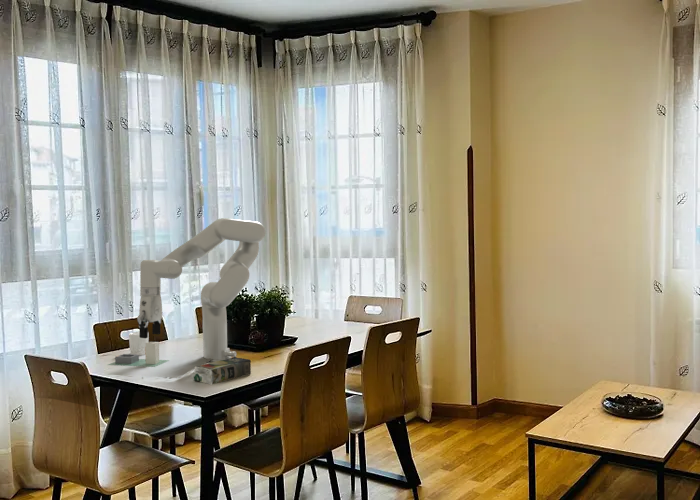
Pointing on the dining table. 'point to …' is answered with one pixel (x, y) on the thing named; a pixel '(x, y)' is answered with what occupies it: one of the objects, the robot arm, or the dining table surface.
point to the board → (133, 361)
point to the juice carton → (222, 370)
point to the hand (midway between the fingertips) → (150, 335)
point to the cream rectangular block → (152, 352)
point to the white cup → (137, 343)
